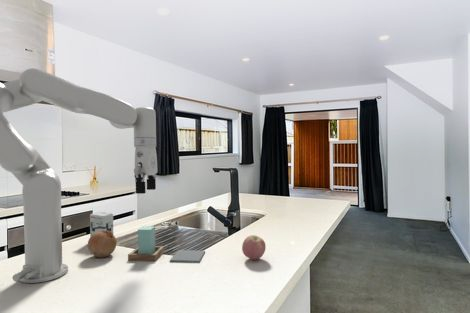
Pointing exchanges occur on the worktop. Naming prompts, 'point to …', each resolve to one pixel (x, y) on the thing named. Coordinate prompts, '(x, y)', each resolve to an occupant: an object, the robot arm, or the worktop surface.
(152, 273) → the worktop surface
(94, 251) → the onion
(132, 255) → the pocket frame
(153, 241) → the part
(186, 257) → the mat
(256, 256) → the apple
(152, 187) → the robot arm
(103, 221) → the ink box
